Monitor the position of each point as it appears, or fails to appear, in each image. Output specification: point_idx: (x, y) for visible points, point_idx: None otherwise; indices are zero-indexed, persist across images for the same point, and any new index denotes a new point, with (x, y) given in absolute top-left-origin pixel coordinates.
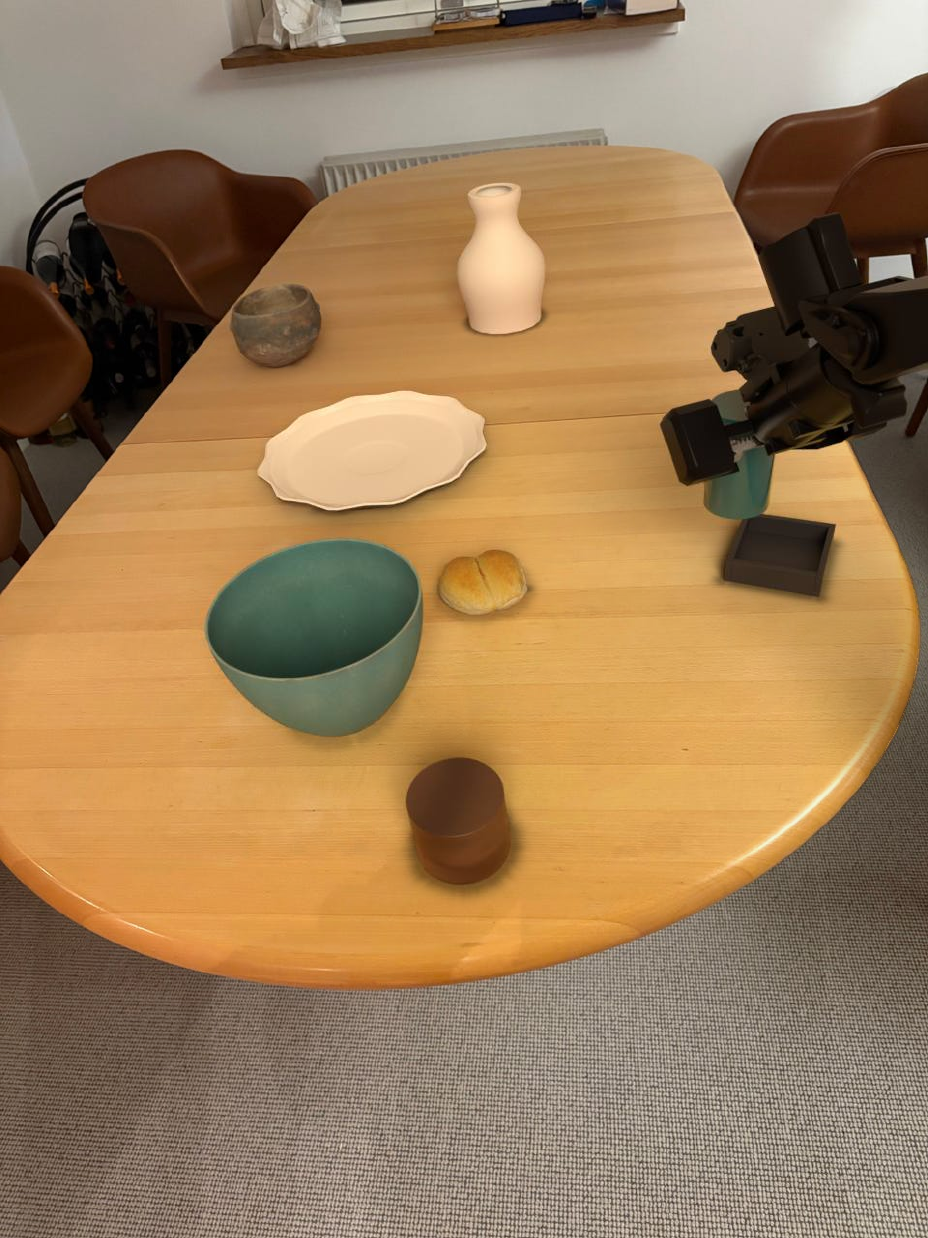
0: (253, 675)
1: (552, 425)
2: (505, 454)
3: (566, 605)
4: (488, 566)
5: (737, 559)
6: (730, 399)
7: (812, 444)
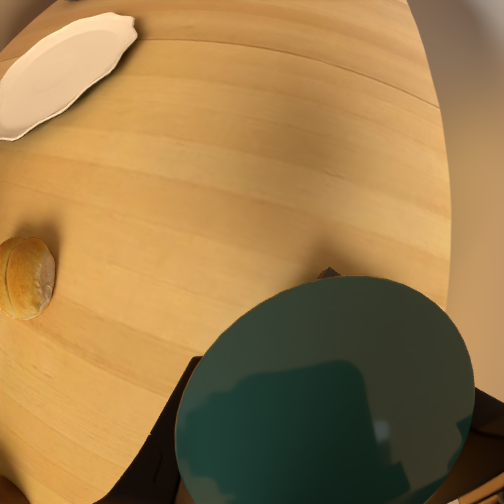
0: None
1: (199, 45)
2: (137, 72)
3: (79, 334)
4: (8, 278)
5: None
6: (312, 375)
7: (429, 499)
